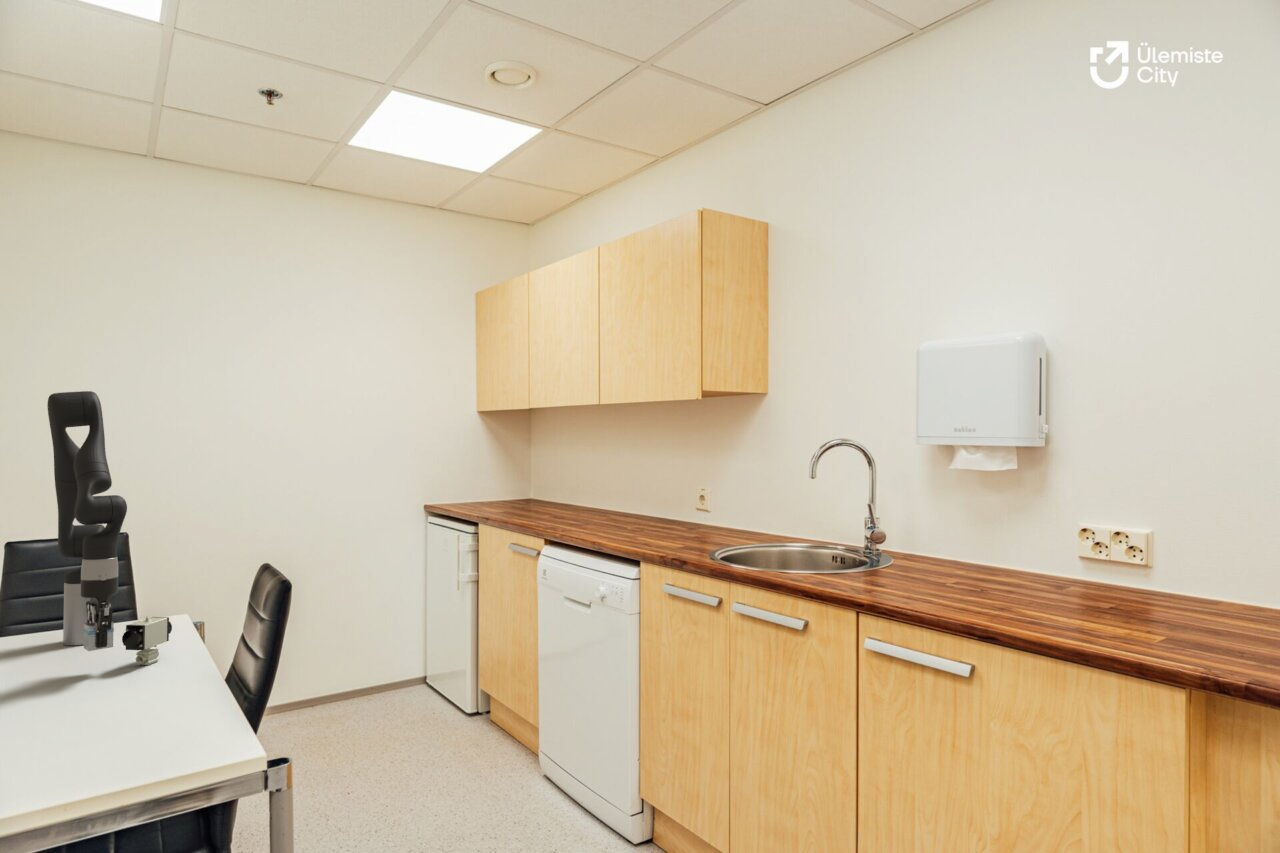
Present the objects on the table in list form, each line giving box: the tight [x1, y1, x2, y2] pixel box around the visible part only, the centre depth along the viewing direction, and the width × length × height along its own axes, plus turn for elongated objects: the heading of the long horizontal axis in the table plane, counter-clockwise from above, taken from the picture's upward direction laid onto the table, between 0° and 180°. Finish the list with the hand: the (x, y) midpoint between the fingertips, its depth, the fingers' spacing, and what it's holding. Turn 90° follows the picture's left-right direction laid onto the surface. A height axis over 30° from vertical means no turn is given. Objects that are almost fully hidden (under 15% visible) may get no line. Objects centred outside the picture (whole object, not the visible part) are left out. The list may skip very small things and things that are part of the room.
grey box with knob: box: [83, 618, 115, 652], centre depth 182 cm, size 5×5×7 cm
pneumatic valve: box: [121, 616, 173, 666], centre depth 190 cm, size 6×12×12 cm, turn 174°
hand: (98, 645), depth 182 cm, fingers closed on grey box with knob, 4 cm apart
